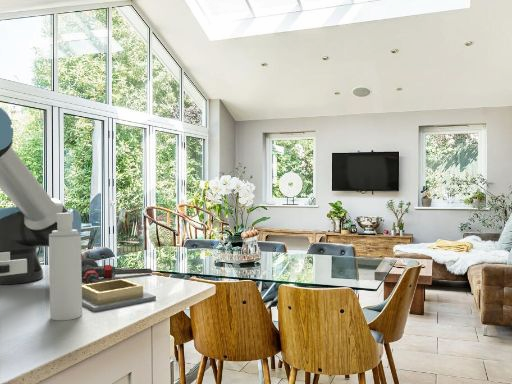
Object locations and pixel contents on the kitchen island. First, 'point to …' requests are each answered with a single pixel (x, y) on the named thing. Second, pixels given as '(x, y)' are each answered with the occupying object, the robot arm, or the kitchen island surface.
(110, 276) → the power drill
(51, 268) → the white bottle
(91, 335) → the kitchen island surface
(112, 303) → the flange plate
